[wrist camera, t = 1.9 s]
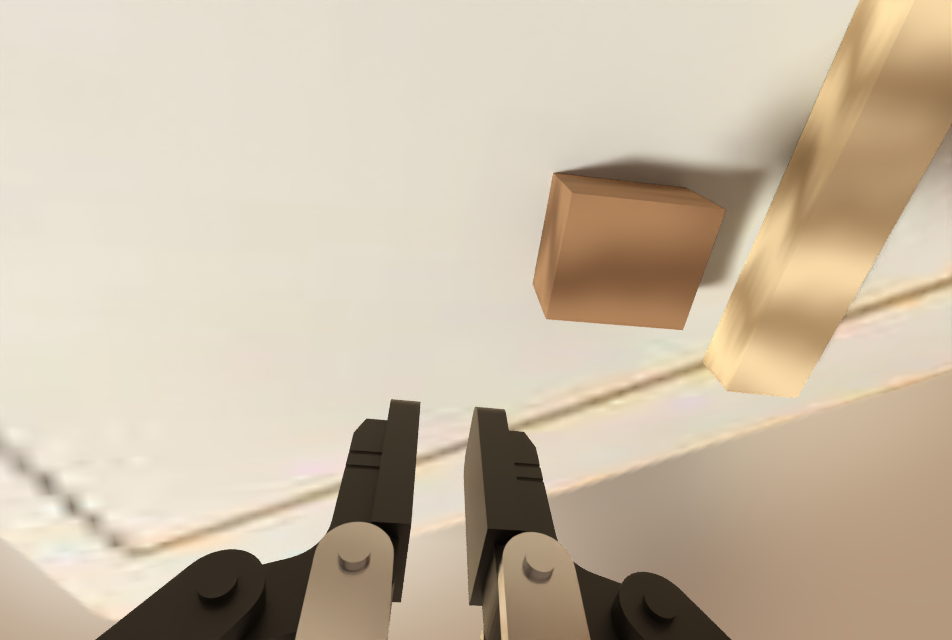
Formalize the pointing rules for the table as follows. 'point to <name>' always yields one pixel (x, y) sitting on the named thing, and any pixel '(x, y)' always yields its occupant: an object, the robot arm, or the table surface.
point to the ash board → (839, 195)
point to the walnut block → (623, 251)
